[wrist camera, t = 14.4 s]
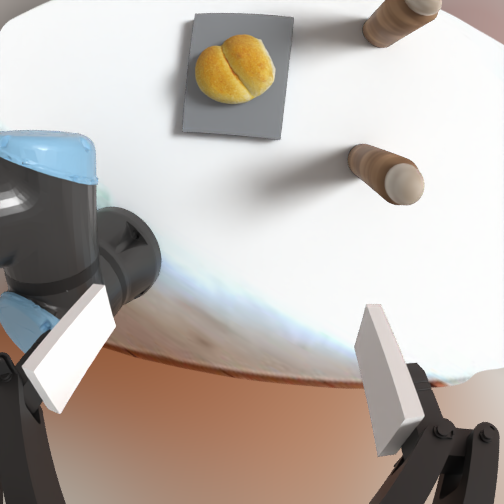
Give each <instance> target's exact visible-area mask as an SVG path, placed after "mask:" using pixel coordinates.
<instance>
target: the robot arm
mask: <svg viewBox="0 0 504 504" xmlns="http://www.w3.org/2000/svg"><path fill="white" fill-rule="evenodd" d="M97 184H98V178H97V177H96V150H95V146H94V144H93V142H92V141H91V140H90V139H89V138H88V137H86V136H84V135H81V134H77V133H70V132H60V131H45V130H15V131H0V268H3V269H4V271H5V276H6V280H7V284H8V291H7V292H4V293H2V294H1V297H0V322H1V324H2V326H3V328H4V329H5V331H6V333H7V334H8V335H9V337H10V338H11V339H12V340H13V342H14V343H15V344H16V345H17V346H18V347H19V348H20V349H21V350H22V351H23V352H24V353H25V355H24V356H23V357H22V358H21V359H20V361H19V362H18V363H17V365H16V366H14V364H13V362H12V360H11V358H10V356H9V355H8V354H7V353H3V352H1V353H0V504H3V492H4V497H5V502H6V504H66V503H65V500H64V497H63V494H62V491H61V488H60V485H59V482H58V478H57V475H56V471H55V468H54V464H53V460H52V456H51V452H50V448H49V443H48V439H47V434H46V428H45V423H44V418H43V411H42V408H41V406H40V404H41V403H42V401H43V402H44V404H45V405H46V407H47V408H48V409H49V410H52V411H54V412H56V413H59V414H61V412H62V410H63V408H64V406H65V405H66V403H67V401H68V400H69V398H70V397H71V395H72V394H73V392H74V390H75V389H76V387H77V385H78V384H79V382H80V381H81V379H82V377H83V376H84V374H85V372H86V371H87V369H88V368H89V366H90V365H91V363H92V362H93V360H94V359H95V357H96V355H97V353H98V352H99V351H100V349H101V348H102V346H103V345H104V343H105V342H106V340H107V339H108V337H109V336H110V334H111V333H112V331H113V330H114V328H115V327H116V326H115V322H114V319H113V318H114V316H115V315H116V314H117V312H118V311H119V310H120V308H121V307H122V306H123V305H124V304H126V303H128V302H130V301H132V300H133V299H136V298H138V297H140V296H142V295H143V294H145V293H146V292H147V291H148V290H149V289H150V288H151V286H152V285H153V284H154V282H155V281H156V279H157V277H158V275H159V272H160V268H161V253H160V248H159V245H158V242H157V240H156V238H155V236H154V234H153V232H152V231H151V229H150V228H149V227H148V226H147V224H146V223H145V222H144V221H143V220H142V219H140V218H139V217H138V216H137V215H135V214H134V213H132V212H130V211H128V210H125V209H122V208H118V207H105V208H102V209H99V210H97V207H96V185H97ZM354 348H355V352H356V356H357V360H358V364H359V368H360V372H361V377H362V381H363V385H364V390H365V394H366V398H367V403H368V408H369V413H370V418H371V423H372V428H373V432H374V438H375V443H376V449H377V455H378V457H380V456H387V455H394V454H396V453H397V452H398V451H399V449H400V448H401V449H402V453H403V456H402V457H401V458H400V459H399V460H398V461H397V463H396V464H395V465H394V467H395V468H394V469H393V470H392V472H391V474H390V475H389V476H388V478H387V480H386V481H385V482H384V484H383V485H382V486H381V488H380V489H379V491H378V492H377V493H376V495H375V496H374V497H373V499H372V500H371V501H370V503H369V504H424V503H425V501H426V499H427V497H428V496H429V494H430V492H431V490H432V488H433V486H434V484H435V483H436V481H437V479H438V477H439V481H438V484H437V488H436V492H435V496H434V499H433V503H432V504H494V497H495V490H496V482H497V472H498V459H499V432H498V430H497V428H496V427H495V426H494V425H492V424H490V423H488V422H482V423H480V424H478V425H477V426H476V427H475V428H474V430H472V429H461V428H456V427H455V426H454V424H453V423H452V422H451V421H449V420H448V419H445V418H443V416H442V414H441V411H440V409H439V406H438V403H437V401H436V398H435V396H434V393H433V391H432V390H431V386H430V383H429V382H428V378H427V376H426V374H425V371H424V370H423V369H422V368H421V367H420V366H419V365H418V364H417V363H409V364H406V363H405V360H404V358H403V355H402V353H401V350H400V348H399V345H398V343H397V341H396V338H395V336H394V333H393V331H392V329H391V326H390V324H389V322H388V319H387V317H386V315H385V313H384V310H383V308H382V306H381V304H366V307H365V311H364V314H363V318H362V322H361V325H360V329H359V332H358V336H357V339H356V343H355V346H354ZM439 475H440V476H439Z"/></svg>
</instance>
